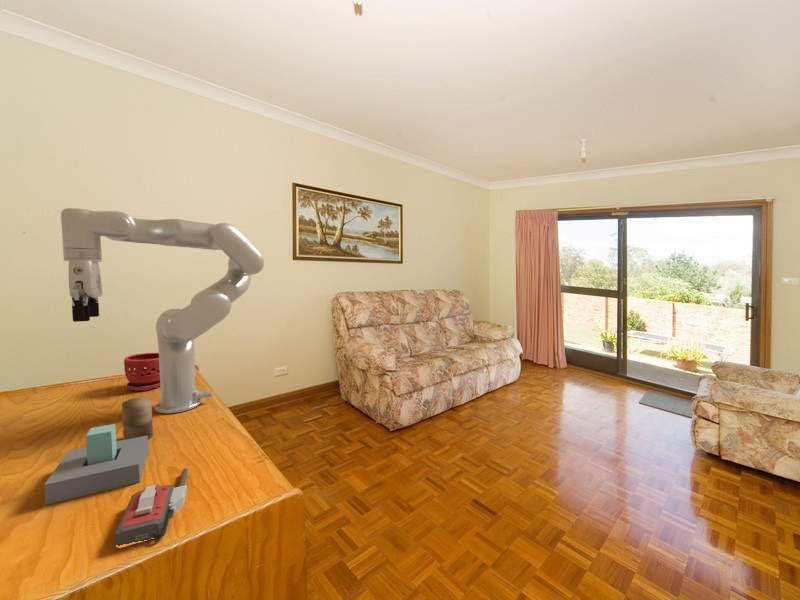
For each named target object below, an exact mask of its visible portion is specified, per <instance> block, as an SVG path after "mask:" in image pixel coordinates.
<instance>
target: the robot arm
mask: <svg viewBox="0 0 800 600" xmlns="http://www.w3.org/2000/svg"><path fill="white" fill-rule="evenodd" d="M60 223H61V235H62V253H63V261H65V262H68V289H69V295H70V298H71V305H72V306H71V310H72V311H71V313H72V321H73V322H75V323H76V322H89V321H90V318H95V317H99V316H100V308H99V307H100V306H99V305H100V304H99V297H101V296H103V287H102V286H103V285H102V278H101V277H102V276H101V271H100V269H101V268H100V264H99V263H101V262H103V260H102V258H103V256H102V245H101V243H102V242H101V241H102V239H101V237H105V238H107V239H109V240H112V241H117V242H125V243H136V244H137V243H138V244H151V245H161V246H166V247H178V248H179V247H180V248H192V249H199V250H200V249H201V250H212V251H222V252H223V253H224V254H225V255H226V256H227V257H228V264H227V265H228V267H227V272H226V274H225V275H224V276H223V277H221V279H219V280H218V281H216V282H215V283H212V285H210V286H208V287H206V288H204V289H203V290H201V291H198V293H196V294H194V296H193V297H192V298H191V300H190V304H188V305H186V306H185V307H184V308H182V309H181V308H169V309H166V310H165V311H163V312H162V313H161V314H160V315H158V318H157V319H156V323H155V329H156V338H157V346H158V347H157V348H158V353H159V369H160V387H159V388H160V389H159V391H160V402H157V403H156V404H155V406H154V410H155V411H156V412H157V413H159V414H175V413H176V414H177V413H182V412H187V411H190V410H193V409H195V408H197V407H199V406H200V405H201V404H202V402H203V401H202V398H211V397H212V396H213V395H212V394H213V393H212V390H208V389H205V390H198V387H196V385H197V383H196V361H195V360H196V358H195V355H196V354H195V353H196V352H195V342H194V340H195V339H197V338H199V337H200V336H201V335H204V334H205V333H207V332H208V331H209V330H210V329H212V328H213V327H215V326H216V325H218V324H219V323H221V322H222V321H223V320H225V318H226V317H227V316H228V315H229V314H230V312H231V310H232V303H234V302H235V301H236V300H237V299H239V298H240V297H241V296H243V295H244V294H245V293H246V292H247V291H248V289H249V287H250V284H251V279H252V275H257V274H259V273H260V272H261V271H262V270H263V268H264V265H265V259H264V256H263V255H262V253H260V251H259V250H258V249H257V248H256V247H255V246H254V245H253V244H252V243H251V242H250V241H249V240H248V238H246V236H245V235H243V234H242V233H241V231H240V230H238V229H237V228H236V227H235V226H233V225H232V224H229V223H227V222H220V223H217V224H215V223H207V222H200V221H193V220H188V219H187V220H185V219H180V218H167V219H147V218H146V219H145V218H143V219H142V218H135V217H132V216H131V215H129V214H128V213H126V212H123V211H119V210H118V211H117V210H116V211H115V210H110V211H109V210H108V211H107V210H106V211H104V210H103V211H101V210H100V211H99V210H91V209H86V208H79V207H78V208H75V207H68V208H67V207H66V208H63V209H62V210H61V212H60ZM201 401H202V402H201ZM200 403H201V404H200ZM199 404H200V405H199ZM198 405H199V406H198ZM196 406H197V407H196ZM194 407H195V408H194ZM192 408H193V409H192Z"/></svg>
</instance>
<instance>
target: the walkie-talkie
mask: <svg viewBox="0 0 800 600" xmlns="http://www.w3.org/2000/svg"><path fill="white" fill-rule="evenodd" d="M188 472H189V469H188V468H187V467H185V468H183V469H182V471H181V474H180V480H179V483H178V486H177V487H175V486H173V484H172V485H171V484H166V485H161V486H160V484H153V485H150V486H145V487H143V489H142V490H138V491H137V492H135V493H133V494H132V495H131V497H130V499H129V502H128V503H127V506H126V507H125V511H124V513H123V515H122V517H121V519H120V522H119V524H118V526H117V528H116V531H115V533H114V540H115V541H114V543H115V545H118V546H120V545H123V544H129V543H132V542H138V541H144V540H149V539H151V538H154V540H158V539H161V538H162V537H164V536H165V535H166V533H167V528H168V527H169V525H168V524H169V521H170V518H171V517H172V516H174V515H175V514H176V513H177V512H179V511H180V510H181V509H182V508H183V507H184V504H185V500H186V497H187V494H188V487H187V485H186V480H187V476H188Z"/></svg>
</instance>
